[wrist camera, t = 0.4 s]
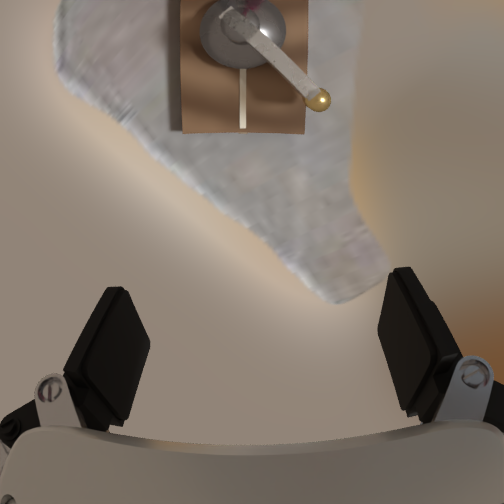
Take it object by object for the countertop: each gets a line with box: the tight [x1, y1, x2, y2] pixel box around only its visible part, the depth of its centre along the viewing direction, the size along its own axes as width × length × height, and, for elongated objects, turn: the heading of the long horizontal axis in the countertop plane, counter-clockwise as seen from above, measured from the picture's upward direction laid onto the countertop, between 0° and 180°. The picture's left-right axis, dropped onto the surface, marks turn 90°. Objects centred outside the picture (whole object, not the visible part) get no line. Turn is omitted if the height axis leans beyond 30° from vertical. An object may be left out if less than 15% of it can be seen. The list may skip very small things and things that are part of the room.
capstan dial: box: [200, 0, 331, 112], centre depth 26 cm, size 16×9×5 cm, turn 45°
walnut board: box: [180, 0, 308, 134], centre depth 29 cm, size 20×14×2 cm
